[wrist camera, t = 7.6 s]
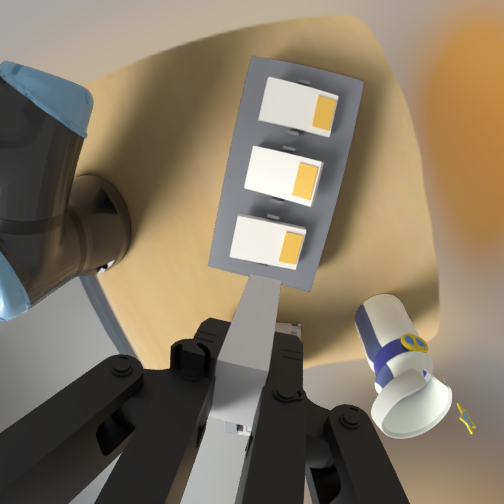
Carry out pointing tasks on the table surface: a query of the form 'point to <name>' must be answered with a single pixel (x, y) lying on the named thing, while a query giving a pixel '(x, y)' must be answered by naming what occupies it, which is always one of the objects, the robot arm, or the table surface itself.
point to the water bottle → (401, 371)
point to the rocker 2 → (283, 175)
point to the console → (289, 142)
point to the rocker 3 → (267, 241)
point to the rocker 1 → (298, 107)
